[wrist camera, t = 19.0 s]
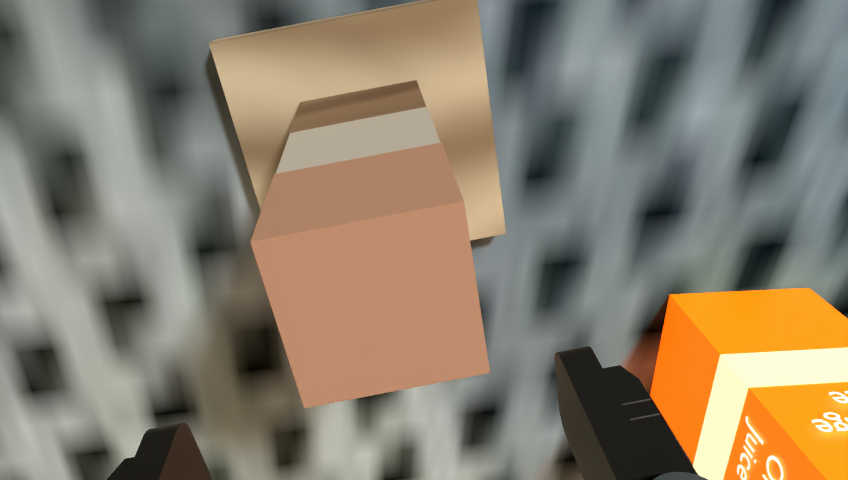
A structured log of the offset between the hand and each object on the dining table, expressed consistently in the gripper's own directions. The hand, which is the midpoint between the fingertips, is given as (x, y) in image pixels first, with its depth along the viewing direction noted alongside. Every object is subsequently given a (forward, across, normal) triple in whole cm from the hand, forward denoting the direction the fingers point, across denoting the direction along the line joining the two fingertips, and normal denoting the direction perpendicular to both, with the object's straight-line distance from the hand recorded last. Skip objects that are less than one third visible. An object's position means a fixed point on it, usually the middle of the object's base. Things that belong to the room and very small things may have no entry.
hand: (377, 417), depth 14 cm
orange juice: (+20, -19, +17) cm, 33 cm away
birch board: (+20, 0, 0) cm, 20 cm away
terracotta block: (+9, 0, 0) cm, 9 cm away
